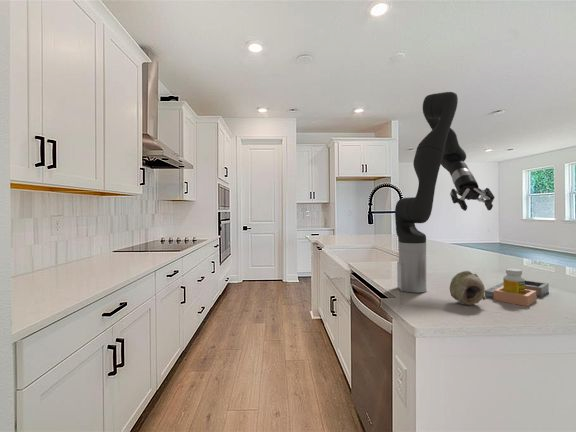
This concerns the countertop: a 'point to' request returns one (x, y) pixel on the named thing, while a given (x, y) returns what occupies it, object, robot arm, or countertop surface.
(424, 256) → the robot arm
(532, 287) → the rail
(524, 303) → the marked socket
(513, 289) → the supplement bottle
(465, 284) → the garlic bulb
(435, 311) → the countertop surface
